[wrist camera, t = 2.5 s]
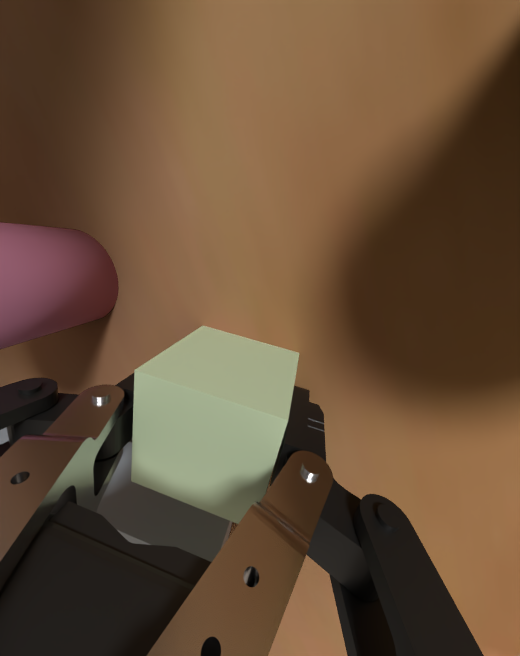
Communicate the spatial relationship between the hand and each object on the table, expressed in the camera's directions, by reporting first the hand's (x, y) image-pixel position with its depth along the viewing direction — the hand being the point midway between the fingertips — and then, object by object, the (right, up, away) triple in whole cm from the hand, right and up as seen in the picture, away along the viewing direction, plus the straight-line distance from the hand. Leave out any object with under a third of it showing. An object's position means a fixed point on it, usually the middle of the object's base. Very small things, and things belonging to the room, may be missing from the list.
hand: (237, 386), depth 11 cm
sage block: (0, 0, 0) cm, 0 cm away
